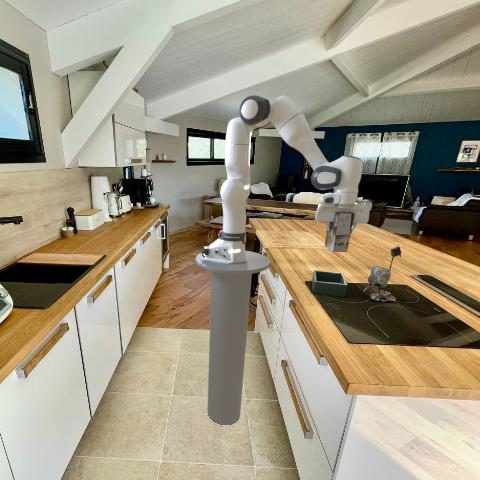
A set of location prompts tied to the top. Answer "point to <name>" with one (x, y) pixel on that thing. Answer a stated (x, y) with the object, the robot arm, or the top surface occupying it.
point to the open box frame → (329, 283)
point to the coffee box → (339, 232)
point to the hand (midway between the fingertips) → (338, 232)
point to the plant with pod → (382, 279)
